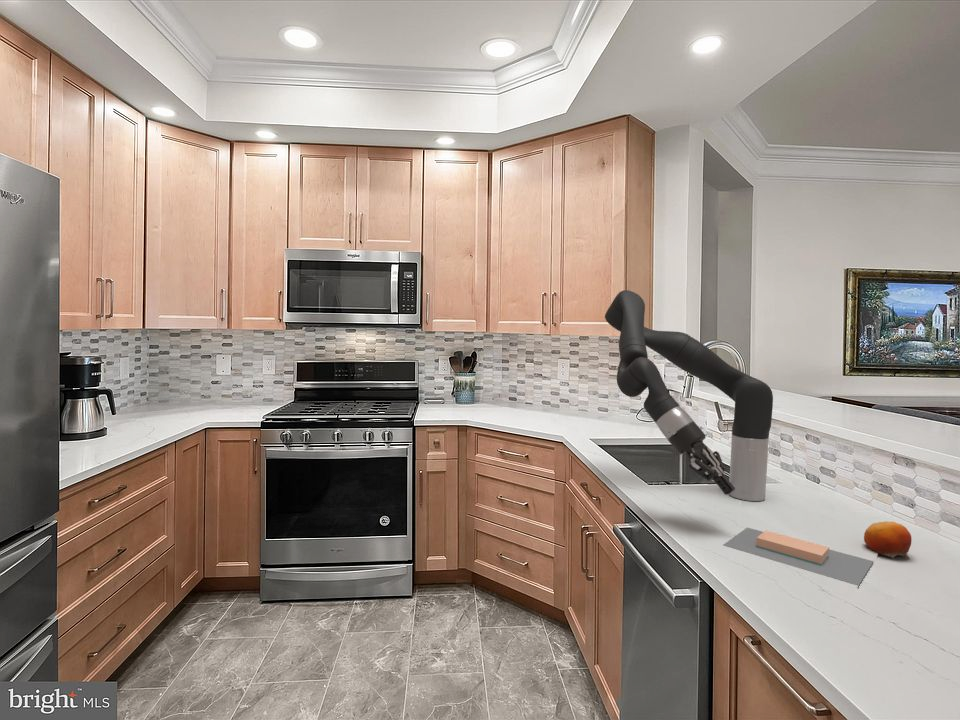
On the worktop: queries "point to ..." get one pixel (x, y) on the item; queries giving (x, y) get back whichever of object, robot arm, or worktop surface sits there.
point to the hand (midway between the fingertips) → (730, 492)
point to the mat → (834, 566)
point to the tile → (793, 547)
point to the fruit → (888, 539)
